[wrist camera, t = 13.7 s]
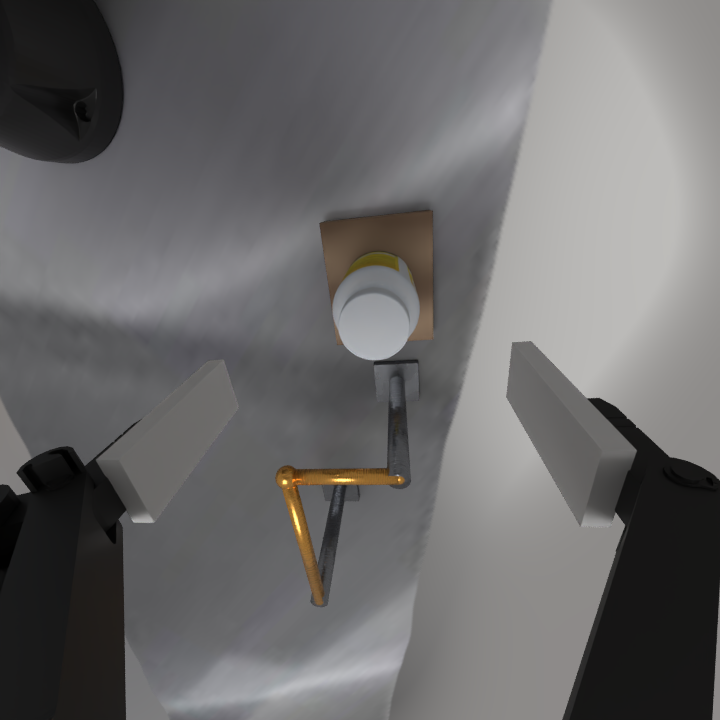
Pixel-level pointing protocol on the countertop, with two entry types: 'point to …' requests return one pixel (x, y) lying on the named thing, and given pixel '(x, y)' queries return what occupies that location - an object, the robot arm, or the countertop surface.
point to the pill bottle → (376, 306)
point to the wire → (352, 475)
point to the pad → (390, 234)
